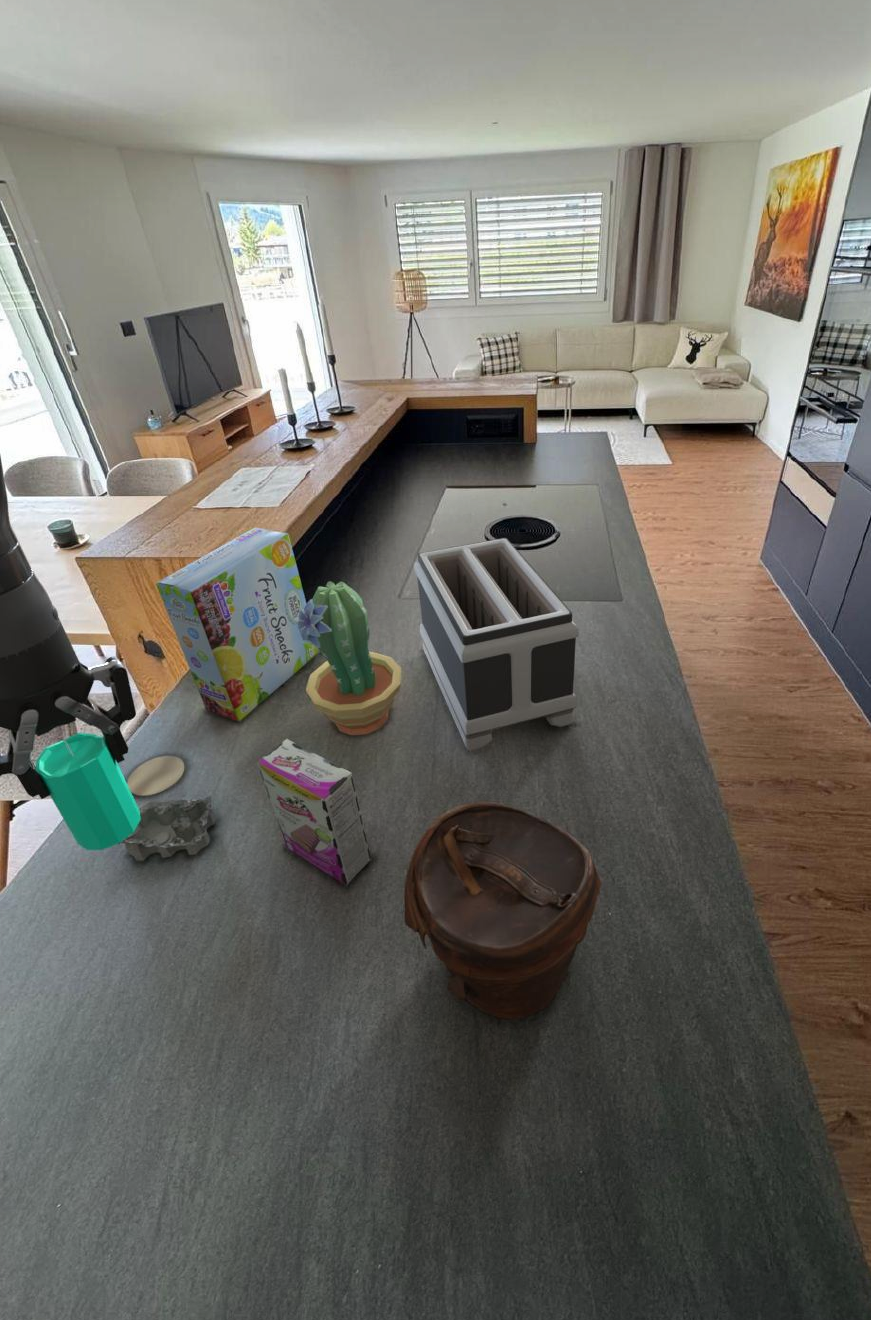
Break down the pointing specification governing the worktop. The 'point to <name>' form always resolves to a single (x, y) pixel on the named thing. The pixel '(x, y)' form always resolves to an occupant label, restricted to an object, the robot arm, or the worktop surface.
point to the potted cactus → (347, 662)
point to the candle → (89, 790)
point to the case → (501, 904)
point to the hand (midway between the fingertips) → (82, 774)
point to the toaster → (495, 639)
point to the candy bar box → (316, 810)
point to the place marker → (155, 775)
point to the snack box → (239, 620)
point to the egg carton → (171, 828)
